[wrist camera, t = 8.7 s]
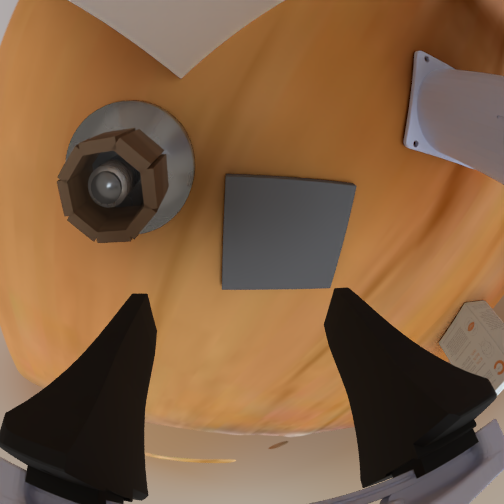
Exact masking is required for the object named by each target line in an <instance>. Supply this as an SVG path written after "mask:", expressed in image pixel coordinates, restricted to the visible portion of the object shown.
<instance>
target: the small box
mask: <svg viewBox="0 0 504 504" xmlns="http://www.w3.org/2000/svg"><path fill="white" fill-rule="evenodd" d="M439 345H440V346H441V348H442V349H443V351H444V352H445V354H446V356H447V357H448V359H449V360H450V362H451V364H452V365H454V366H456V367H458V368H460V369H463V370H465V371H467V372H470V373H473V374H476V375H479V376H482V377H484V378H487V379H489V381H490V382H491V384H492V386H493V388H494V390H495V392H496V393H497V395H498V394H499V393H500V392H501V391H502V390H503V389H504V323H503V321H502V320H501V319H500V318H499V316H498V315H497V314H496V313H495V312H494V311H493V309H492V308H491V307H490V306H489V305H488V303H487V302H486V301H484V300H482V301H474V302H467V303H464V305H463V306H462V308H461V310H460V311H459V313H458V315H457V316H456V318H455V319H454V321H453V322H452V324H451V325H450V327H449V328H448V330H447V331H446V333H445V334H444V336H443V337H442V339H441V340H440V341H439Z"/></svg>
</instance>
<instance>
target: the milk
mask: <svg viewBox="0 0 504 504" xmlns="http://www.w3.org/2000/svg"><path fill="white" fill-rule="evenodd" d="M68 1H70V2H72V3H73V4H75V5H77V6H78V7H80V8H82V9H83V10H85V11H87V12H88V13H90V14H92V15H93V16H95V17H96V18H98V19H99V20H101V21H103V22H104V23H106V24H107V25H109V26H110V27H112V28H113V29H115V30H116V31H118V32H119V33H120V34H122V35H123V36H125V37H126V38H128V39H129V40H130V41H132V42H133V43H135V44H136V45H137V46H139V47H140V48H142V49H143V50H144V51H146V52H147V53H148V54H150V55H151V56H152V57H154V58H155V59H156V60H158V61H159V62H160V63H161V64H163V65H164V66H165V67H167V68H168V69H169V70H170V71H172V72H173V73H174V74H175V75H177V76H178V77H179V78H180V79H181V78H183V77H184V76H185V75H186V74H187V73H188V72H189V71H190V70H191V69H192V68H193V67H195V66H196V65H197V64H198V63H199V62H200V61H201V60H203V59H204V58H205V57H206V56H207V55H209V54H210V53H211V52H212V51H213V50H215V49H216V48H217V47H218V46H220V45H221V44H222V43H223V42H225V41H226V40H227V39H229V38H230V37H231V36H232V35H234V34H235V33H236V32H238V31H239V30H241V29H242V28H243V27H245V26H246V25H248V24H249V23H250V22H252V21H253V20H255V19H256V18H258V17H259V16H261V15H262V14H264V13H265V12H267V11H269V10H270V9H272V8H273V7H275V6H277V5H278V4H280V3H282V2H283V1H285V0H68Z"/></svg>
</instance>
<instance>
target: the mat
mask: <svg viewBox="0 0 504 504" xmlns="http://www.w3.org/2000/svg"><path fill="white" fill-rule="evenodd" d="M355 191H356V185H355V184H353V183H347V182H338V181H329V180H319V179H308V178H296V177H282V176H267V175H247V174H226V180H225V202H224V228H223V261H222V290H256V289H315V288H330V287H331V283H332V280H333V277H334V273H335V270H336V266H337V263H338V259H339V256H340V252H341V248H342V244H343V241H344V237H345V233H346V229H347V225H348V221H349V217H350V213H351V208H352V204H353V200H354V195H355Z"/></svg>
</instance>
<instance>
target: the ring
mask: <svg viewBox="0 0 504 504" xmlns="http://www.w3.org/2000/svg"><path fill="white" fill-rule="evenodd" d="M108 151H115V152H116V153H117V154H118V155H120V156H121V157H122V158H123V159H124V160H126V161H127V162H128V163H129V164H130V165H132V166H133V167H134V168H135V169H136V170H138V171H139V172H140V176H141V184H142V192H143V200H144V203H143V204H142V205H140V206H127V207H111V208H107V207H103V206H100V205H99V204H97V203H96V202H95V201H94V200H93V199H92V197H91V196H90V193H89V190H88V180H89V177H90V175H91V173H92V172H93V167H92V164H93V163H94V161H95V160H96V158H97V157H98V155H99V154H100V153H101V152H108ZM163 151H164V149H162V148H161V147H160V146H159V145H158V144H157V143H155V142H154V141H153V140H152V139H151V138H150V137H148V136H147V135H146V134H145V133H144V132H142V131H141V130H140V129H138V130H135V128H130V129H123V130H116V131H110V132H104V133H102V134H99V135H97V136H94V137H92V138H89V139H87V140H85V141H82V142H80V143H79V144H78V145H76V146H75V147H74V149H73V150H72V152H71V154H70V155H69V157H68V159H67V161H66V162H65V164H64V166H63V168H62V170H61V171H60V173H59V175H58V178H59V179H60V180H58V181H57V184H58V189H59V194H60V199H61V203H62V207H63V211H64V215H65V216H69V217H68V219H67V220H68V221H69V222H70V223H71V224H72V225H74V226H75V227H76V228H77V229H79V230H80V231H81V232H82V233H84V234H85V235H86V236H87V237H89V238H90V239H91V240H92V241H95V239H96V238H97V242H98V243H108V242H127V241H131V240H132V238H133V239H135V238H136V237H137V236H138V234H139V233H140V232H141V231H142V229H143V228H144V227H145V226H146V225H147V223H148V222H149V221H150V220H151V219H152V217H153V216H154V215H155V214H156V213H157V211H158V209H159V206H160V204H161V202H162V200H163V199H164V197H165V195H166V193H167V191H168V190H167V189H168V187H169V183H168V170H167V156H166V154H162V152H163Z"/></svg>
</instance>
